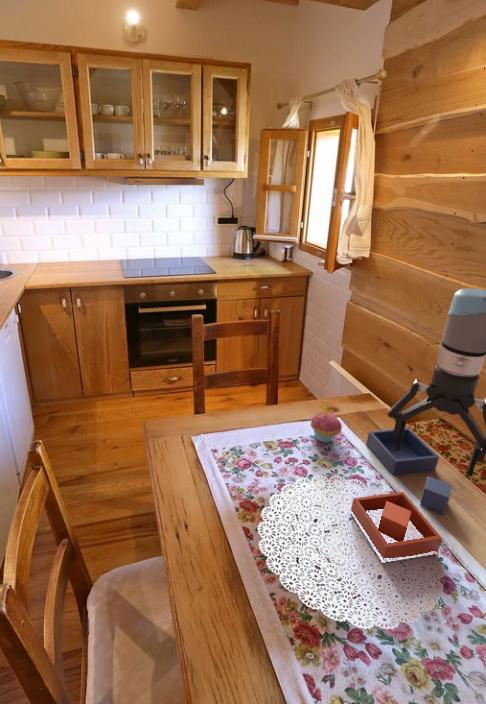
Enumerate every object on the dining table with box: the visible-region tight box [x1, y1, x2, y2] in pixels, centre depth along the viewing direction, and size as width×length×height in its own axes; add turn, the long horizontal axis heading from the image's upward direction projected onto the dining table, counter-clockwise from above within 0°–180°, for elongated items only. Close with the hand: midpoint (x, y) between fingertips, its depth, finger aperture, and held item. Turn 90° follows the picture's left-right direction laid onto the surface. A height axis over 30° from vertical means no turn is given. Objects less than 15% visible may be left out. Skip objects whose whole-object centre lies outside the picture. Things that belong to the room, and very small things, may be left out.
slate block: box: [419, 475, 452, 516], centre depth 95 cm, size 5×5×5 cm
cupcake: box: [310, 399, 343, 443], centre depth 115 cm, size 9×8×12 cm
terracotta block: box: [378, 501, 411, 542], centre depth 86 cm, size 5×5×5 cm
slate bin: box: [365, 427, 440, 477], centre depth 110 cm, size 13×13×4 cm
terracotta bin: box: [350, 491, 443, 559], centre depth 86 cm, size 13×13×4 cm
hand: (432, 459), depth 85 cm, fingers open, 13 cm apart
